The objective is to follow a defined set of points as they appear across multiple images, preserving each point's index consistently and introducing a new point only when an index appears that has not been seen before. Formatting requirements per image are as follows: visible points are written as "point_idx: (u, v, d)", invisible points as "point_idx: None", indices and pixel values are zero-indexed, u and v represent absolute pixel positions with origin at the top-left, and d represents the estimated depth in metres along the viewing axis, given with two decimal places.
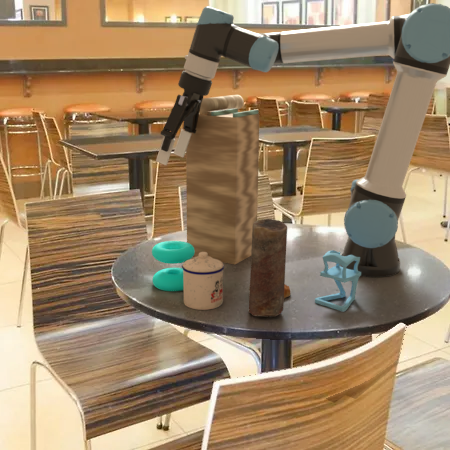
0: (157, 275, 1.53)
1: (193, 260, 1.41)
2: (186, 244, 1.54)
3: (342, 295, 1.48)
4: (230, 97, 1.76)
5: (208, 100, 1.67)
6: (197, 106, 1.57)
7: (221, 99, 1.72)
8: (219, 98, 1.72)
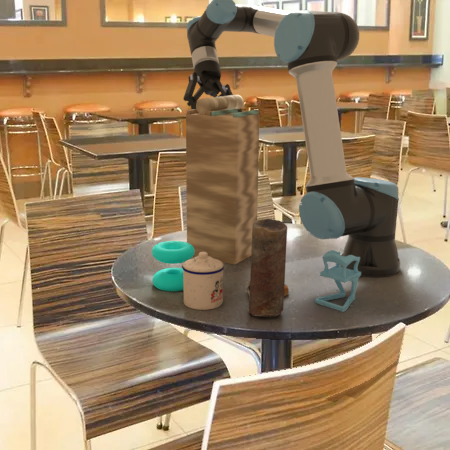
0: (157, 275, 1.53)
1: (193, 260, 1.41)
2: (186, 244, 1.54)
3: (342, 295, 1.48)
4: (229, 97, 1.76)
5: (208, 100, 1.67)
6: (218, 85, 1.86)
7: (221, 98, 1.72)
8: (219, 98, 1.72)
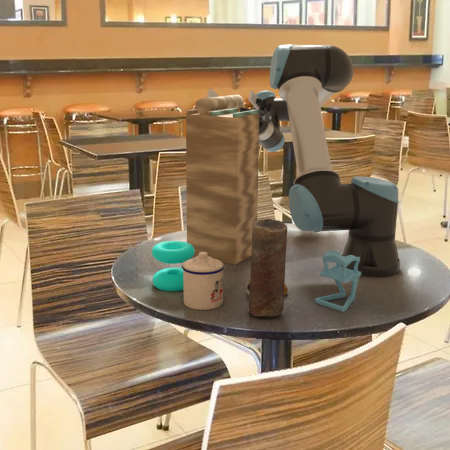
0: (157, 275, 1.53)
1: (193, 260, 1.41)
2: (186, 244, 1.54)
3: (342, 295, 1.48)
4: (229, 97, 1.76)
5: (208, 100, 1.67)
6: (254, 109, 1.99)
7: (221, 98, 1.72)
8: (219, 98, 1.72)
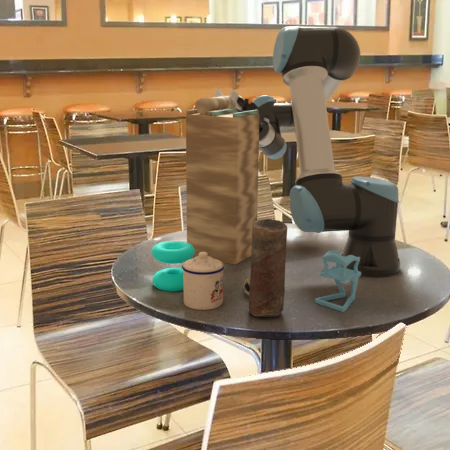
0: (157, 275, 1.53)
1: (193, 260, 1.41)
2: (186, 244, 1.54)
3: (342, 295, 1.48)
4: None
5: (208, 100, 1.67)
6: None
7: (221, 98, 1.72)
8: (219, 98, 1.72)
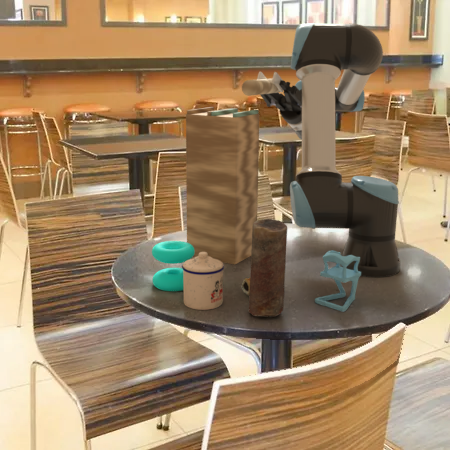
0: (157, 275, 1.53)
1: (193, 260, 1.41)
2: (186, 244, 1.54)
3: (342, 295, 1.48)
4: None
5: (254, 81, 1.71)
6: None
7: (265, 81, 1.77)
8: (263, 80, 1.76)
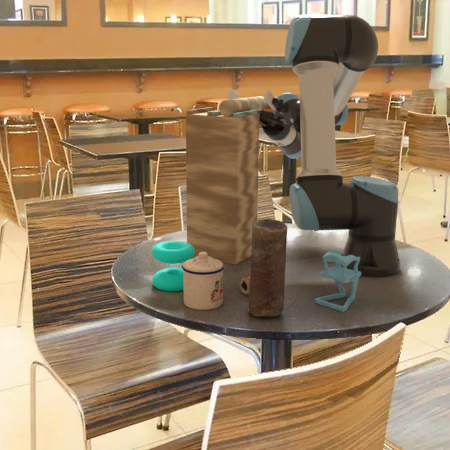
0: (157, 275, 1.53)
1: (193, 260, 1.41)
2: (186, 244, 1.54)
3: (342, 295, 1.48)
4: (253, 99, 1.72)
5: (232, 102, 1.62)
6: None
7: (245, 100, 1.68)
8: (242, 100, 1.67)
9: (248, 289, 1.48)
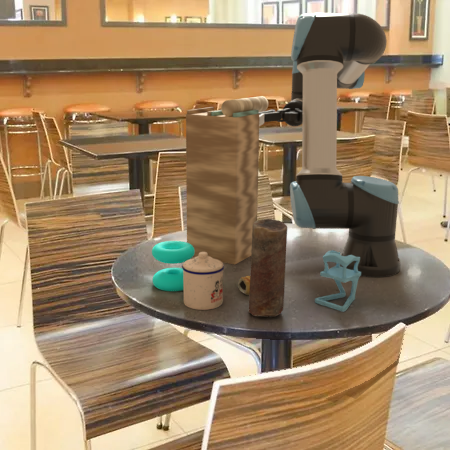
0: (157, 275, 1.53)
1: (193, 260, 1.41)
2: (186, 244, 1.54)
3: (342, 295, 1.48)
4: (256, 100, 1.71)
5: (235, 104, 1.62)
6: (296, 109, 1.91)
7: (248, 102, 1.67)
8: (246, 101, 1.67)
9: (247, 288, 1.49)
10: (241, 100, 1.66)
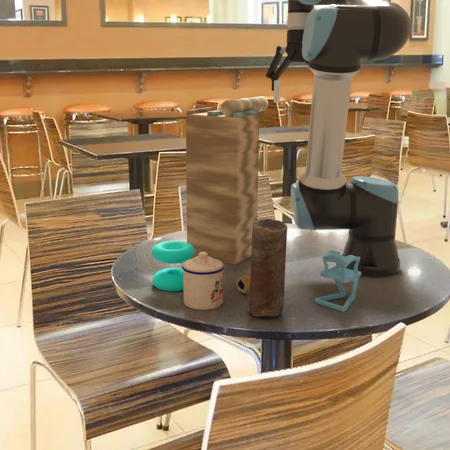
0: (157, 275, 1.53)
1: (193, 260, 1.41)
2: (186, 244, 1.54)
3: (342, 295, 1.48)
4: (256, 100, 1.71)
5: (235, 104, 1.62)
6: (300, 54, 1.88)
7: (248, 102, 1.68)
8: (246, 101, 1.67)
9: (245, 288, 1.49)
10: (241, 100, 1.66)
